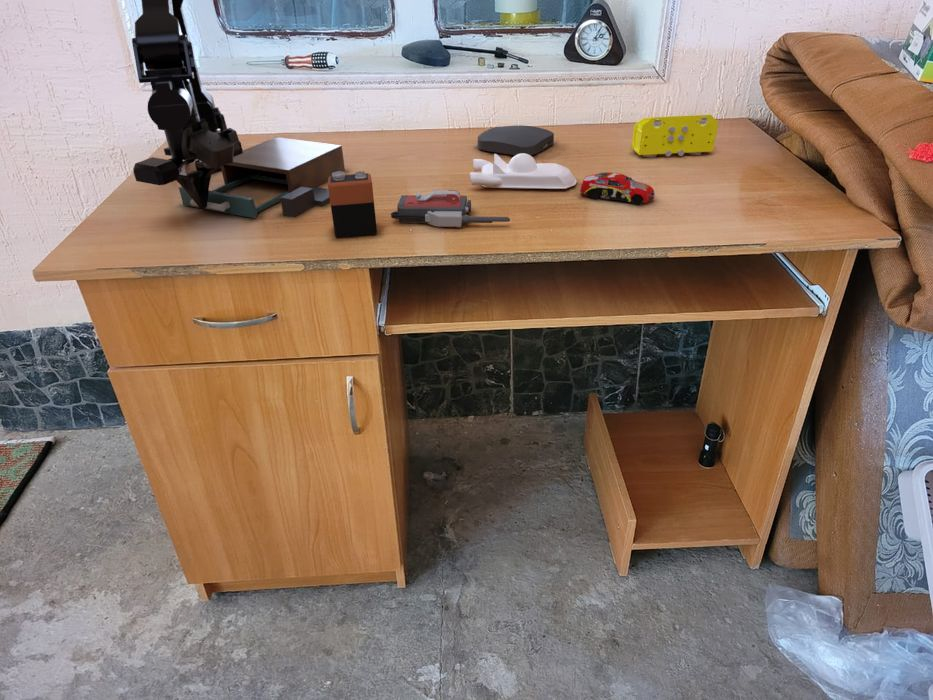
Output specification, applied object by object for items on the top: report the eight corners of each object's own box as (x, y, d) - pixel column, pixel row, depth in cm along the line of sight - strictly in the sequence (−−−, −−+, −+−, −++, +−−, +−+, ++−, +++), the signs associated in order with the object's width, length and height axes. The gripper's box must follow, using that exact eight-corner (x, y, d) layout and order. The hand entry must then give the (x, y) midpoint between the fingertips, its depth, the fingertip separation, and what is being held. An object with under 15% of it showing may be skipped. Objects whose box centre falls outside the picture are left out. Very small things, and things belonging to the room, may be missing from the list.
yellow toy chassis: (638, 159, 136) (644, 118, 131) (630, 151, 140) (635, 111, 136) (713, 155, 137) (720, 114, 132) (702, 148, 141) (709, 108, 137)
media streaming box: (471, 150, 144) (470, 136, 142) (503, 134, 154) (503, 121, 152) (529, 159, 137) (530, 145, 135) (559, 142, 147) (560, 128, 146)
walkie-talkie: (388, 228, 108) (509, 230, 106) (386, 203, 105) (509, 204, 104) (397, 209, 115) (510, 210, 113) (395, 185, 112) (511, 185, 111)
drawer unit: (293, 198, 120) (288, 170, 117) (225, 187, 127) (219, 159, 124) (345, 171, 133) (341, 145, 130) (281, 162, 139) (276, 137, 136)
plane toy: (578, 194, 119) (580, 162, 116) (469, 193, 121) (469, 162, 118) (574, 175, 128) (576, 146, 125) (473, 175, 129) (473, 146, 126)
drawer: (244, 223, 111) (240, 204, 109) (173, 209, 117) (168, 191, 115) (313, 187, 125) (310, 170, 123) (246, 176, 131) (243, 160, 129)
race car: (656, 198, 117) (660, 176, 115) (649, 208, 113) (652, 185, 111) (586, 187, 122) (588, 166, 120) (577, 196, 118) (578, 175, 116)
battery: (335, 229, 108) (326, 170, 103) (376, 225, 109) (369, 166, 103) (335, 239, 104) (326, 178, 99) (377, 235, 105) (371, 175, 100)
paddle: (276, 213, 114) (272, 196, 113) (317, 191, 123) (314, 175, 122) (301, 218, 112) (298, 200, 111) (341, 195, 121) (339, 179, 120)
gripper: (170, 135, 94) (197, 235, 102) (257, 106, 108) (275, 196, 116) (117, 127, 98) (147, 224, 107) (207, 100, 112) (227, 188, 120)
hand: (203, 207), depth 112 cm, fingers closed
